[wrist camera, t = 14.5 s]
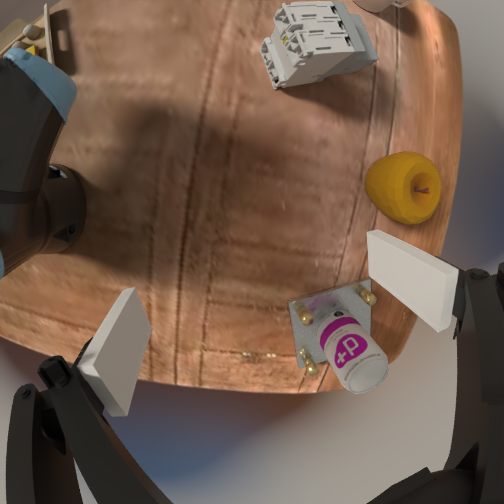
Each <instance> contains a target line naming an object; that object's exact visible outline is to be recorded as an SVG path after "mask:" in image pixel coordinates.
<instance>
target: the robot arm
mask: <svg viewBox="0 0 504 504" xmlns="http://www.w3.org/2000/svg"><path fill="white" fill-rule="evenodd" d="M76 95H77V88H76V85H75V83H74V81H73V80H72V79H71V78H70V77H69V76H68V75H67V74H66V73H64V72H63V71H62V70H60V69H59V68H58V67H56V66H55V65H53V64H51V63H50V62H48V61H46V60H45V59H43V58H41V57H39V56H37V55H32V53H29V52H27V51H26V50H24V49H21V48H15V47H14V48H11V49H9V50H8V51H7V52H6V53H5V54H4V55H3V58H0V280H1V279H2V278H3V277H4V276H5V275H7V274H8V273H9V272H11V271H12V270H14V269H15V268H17V267H18V266H19V265H21V264H22V263H24V262H25V261H27V260H28V259H30V258H31V257H33V256H34V255H36V254H55V253H58V252H61V251H63V250H64V249H66V248H67V247H69V246H70V245H72V244H73V243H74V242H75V241H76V239H77V238H78V237H79V235H80V233H81V231H82V229H83V226H84V222H85V217H86V201H85V195H84V191H83V188H82V186H81V184H80V182H79V180H78V179H77V177H76V176H75V174H74V173H73V172H72V171H71V170H69V169H68V168H66V167H65V166H63V165H60V164H49V161H50V159H51V156H52V153H53V151H54V148H55V146H56V143H57V141H58V138H59V136H60V133H61V131H62V129H63V127H64V125H66V123H67V117H68V114H69V112H70V110H71V107H72V105H73V103H74V101H75V98H76ZM367 244H368V263H369V276H370V277H371V278H372V279H374V280H375V281H376V282H377V283H379V284H380V285H381V286H383V287H384V288H385V289H386V290H388V291H389V292H390V293H391V294H392V295H394V296H395V297H396V298H397V299H399V300H400V301H401V302H402V303H404V304H405V305H406V306H407V307H408V308H410V309H411V310H412V311H413V312H414V313H416V314H417V315H418V316H419V317H420V318H422V319H423V320H424V321H425V322H426V323H427V324H429V325H430V326H431V327H432V328H433V329H435V330H436V331H437V332H438V333H439V332H440V331H442V330H444V329H446V328H448V327H449V326H450V323H451V318H452V314H453V315H454V316H455V317H457V323H456V328H455V332H454V336H453V339H455V337H456V336H457V397H456V410H455V420H454V429H453V437H452V443H451V449H450V454H449V457H448V459H447V462H446V464H445V466H444V469H443V470H441V471H437V472H432V473H430V471H429V469H428V468H427V467H425V468H424V469H422V470H420V471H419V472H417V473H415V474H413V475H412V476H410V477H408V478H406V479H404V480H402V481H400V482H398V483H396V484H394V485H392V486H391V487H389V488H388V489H387V490H385V491H384V492H383V493H381V494H380V495H379V496H377V497H376V498H374V499H373V500H372V501H370V502H369V503H367V504H504V262H503V263H500V264H499V267H498V273H497V274H495V275H490V274H489V273H488V272H487V271H485V270H482V269H476V268H474V269H469V270H467V271H466V272H465V271H464V270H461V269H460V268H458V267H456V266H454V265H452V264H449V263H448V262H447V261H443V259H441V258H439V257H437V256H433V255H430V254H428V253H426V252H424V251H422V250H420V249H418V248H416V247H414V246H412V245H410V244H408V243H406V242H404V241H402V240H399V239H397V238H395V237H393V236H391V235H389V234H387V233H384V232H382V231H380V230H378V229H377V230H373V231H369V232H367ZM151 332H152V327H151V325H150V322H149V320H148V318H147V315H146V313H145V310H144V308H143V305H142V303H141V300H140V298H139V295H138V293H137V290H136V287H133V288H129V289H124V290H123V291H122V292H121V294H120V296H119V297H118V299H117V300H116V302H115V303H114V305H113V306H112V308H111V310H110V311H109V313H108V314H107V316H106V317H105V319H104V321H103V322H102V324H101V326H100V327H99V329H98V331H97V332H96V334H95V336H94V337H92V338H91V339H90V340H89V341H88V342H87V343H86V344H85V345H84V347H83V348H82V350H81V351H82V352H80V354H79V355H78V357H77V359H76V360H75V362H74V364H73V366H72V368H71V369H70V368H69V366H68V364H67V363H66V361H65V360H64V358H63V357H62V356H59V355H57V356H53V357H50V358H48V359H47V360H45V361H44V362H43V363H42V364H41V365H40V366H39V368H38V374H39V376H40V377H41V379H42V380H43V382H44V383H45V384H46V386H47V387H48V390H45V391H42V392H39V391H38V390H37V388H36V387H35V385H34V384H26V385H24V386H21V387H20V388H19V389H18V390H17V392H16V393H15V395H14V399H13V405H12V410H11V417H10V424H9V433H8V442H7V455H6V501H7V504H83V501H82V497H81V493H80V489H79V484H78V480H77V475H76V470H75V464H74V459H75V461H76V463H77V465H78V468H79V470H80V472H81V474H82V476H83V477H84V479H85V481H86V483H87V485H88V487H89V489H90V491H91V492H92V494H93V496H94V498H95V499H96V501H97V503H98V504H173V503H172V502H171V501H170V500H169V499H168V498H167V497H166V496H165V495H164V493H163V492H162V491H161V490H160V489H159V488H158V487H157V486H156V485H155V483H154V482H153V481H152V480H151V479H150V478H149V477H148V475H147V474H146V473H145V472H144V471H143V469H142V468H141V467H140V466H139V464H138V463H137V462H136V461H135V459H134V458H133V457H132V455H131V454H130V453H129V451H128V450H127V449H126V447H125V446H124V445H123V443H122V442H121V440H120V439H119V438H118V436H117V435H116V433H115V432H114V430H113V429H112V427H111V426H110V424H109V423H108V421H107V419H106V418H105V417H104V416H103V414H102V413H103V410H104V407H105V408H106V410H107V411H108V412H109V413H110V415H111V416H127V415H128V411H129V407H130V403H131V399H132V395H133V392H134V388H135V385H136V381H137V378H138V374H139V371H140V367H141V364H142V361H143V357H144V354H145V351H146V348H147V344H148V341H149V338H150V335H151ZM73 457H74V458H73Z"/></svg>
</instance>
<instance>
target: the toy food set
mask: <svg viewBox="0 0 504 504" xmlns="http://www.w3.org/2000/svg"><path fill="white" fill-rule="evenodd" d="M14 47H15V48H21V49H24V50H26V51H27V52H29V53H32V55H37V56H39V57H41V58H43V59H45V60H46V61H48V62H50V63H51V64H53V65H55V62H54V56H53V48H52V40H51V31H50V17H49V6H48V4H45V5H44V17H43V18H42V19H41V20H39V21H38V22H37V23H36V24H34V25H33V24H30V25H28V26H26V27H25V29H24V31H23V33H22V34H21V35H20V36H18V37H17V38H16V39H15V40H14V41H12V42H11V43H10V44H9V45H8V46H7V47H6V48H4V49H3V50H2V51H1V52H0V58H3V55H4V54H5V53H6V52H7V51H8V50H9V49H11V48H14Z"/></svg>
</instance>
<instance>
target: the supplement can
mask: <svg viewBox="0 0 504 504" xmlns="http://www.w3.org/2000/svg"><path fill="white" fill-rule="evenodd" d="M316 339H317V341H318V343H319V345H320V347H321V348H322V350H323V352H324V354H325V356H326V357H327V359H328V361H329V363H330V364H331V366H332V368H333V370H334V372H335V373H336V375H337V377H338V379H339V380H340V382H341V384H342V386H343V387H344V388H346V389H347V390H349V391H351V392H353V393H355V394H362V393H366V392H368V391H371V390H373V389H374V388H376V387H377V386H378V385H379V384H380V383H381V382H382V381H383V380H384V379H385V377H386V376H387V374H388V370H389V365H388V360H387V355H386V354H385V353H384V352H383V351H382V349H381V348H380V347H379V346H378V345H377V343H376V342H375V341H374V340H373V339H372V338H371V336H370V335H369V334H368V333H367V332H366V330H365V329H364V328H363V327H362V326H361V325H360V323H359V322H358V321H357V320H356V319H355V318H354V316H353V315H352V314H351V313H350V312H347V311H345V310H340V311H335V312H332V313H330V314H328V315H327V316H325V317H324V318H323V319H322V320H321V321H320V323H319V324H318V326H317V329H316Z"/></svg>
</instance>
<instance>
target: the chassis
mask: <svg viewBox="0 0 504 504" xmlns="http://www.w3.org/2000/svg"><path fill="white" fill-rule="evenodd" d="M287 301H288V307H289V313H290V320H291V326H292V332H293V338H294V345H295V351H296V358H297V364H298V368H299V369H300V368H304V367H306V369H307V371H308V374H309V375H311V376H313V375H316V374H317V373H318V371H319V370H318V368H317V366H316V364H317V363H320V362H323V361H326V360H328V359H327V357H326V356H325V354H324V352H323V350H322V348H321V347H320V345H319V343H318V341H317V339H316V329H317V326H318V324H319V323H320V321H321V320H322V319H323V318H324V317H325V316H327V315H328V314H330V313H332V312H335V311H340V310H345V311H347V312H350V313H351V314H352V315H353V316H354V318H355V319H356V320H357V321H358V322H359V323H360V325H361V326H362V327H363V328H364V329H365V330H366V332H367V333H368V334H369V335H370V327H371V306H373V305H374V304H375V303H376V301H377V298H376V296H374V295H373V294H372V293H371V279H370V278H369V277H367V278H363V279H360V280H357V281H353V282H350V283H347V284H343V285H340V286H337V287H333V288H330V289H326V290H323V291H319V292H315V293H312V294H308V295H304V296H301V297H297V298H293V299H289V300H287Z"/></svg>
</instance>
